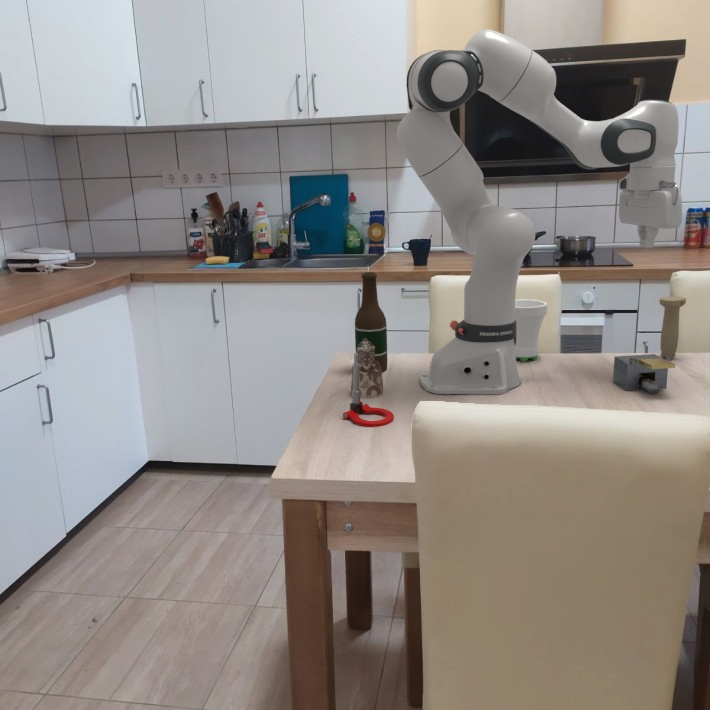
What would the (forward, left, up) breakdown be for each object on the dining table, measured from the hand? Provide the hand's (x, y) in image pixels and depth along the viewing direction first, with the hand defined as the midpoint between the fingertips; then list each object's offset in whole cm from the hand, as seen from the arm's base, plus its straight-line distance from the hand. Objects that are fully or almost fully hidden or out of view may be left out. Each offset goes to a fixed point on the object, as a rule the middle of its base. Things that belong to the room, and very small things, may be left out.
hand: (646, 247), depth 146 cm
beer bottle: (-59, +17, -29) cm, 68 cm away
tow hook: (-63, -17, -29) cm, 72 cm away
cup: (-20, +20, -29) cm, 41 cm away
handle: (+14, +12, -29) cm, 35 cm away
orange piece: (-3, -8, -29) cm, 30 cm away
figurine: (-62, -1, -29) cm, 69 cm away
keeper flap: (-3, -13, -23) cm, 26 cm away
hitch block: (-3, -7, -29) cm, 30 cm away
